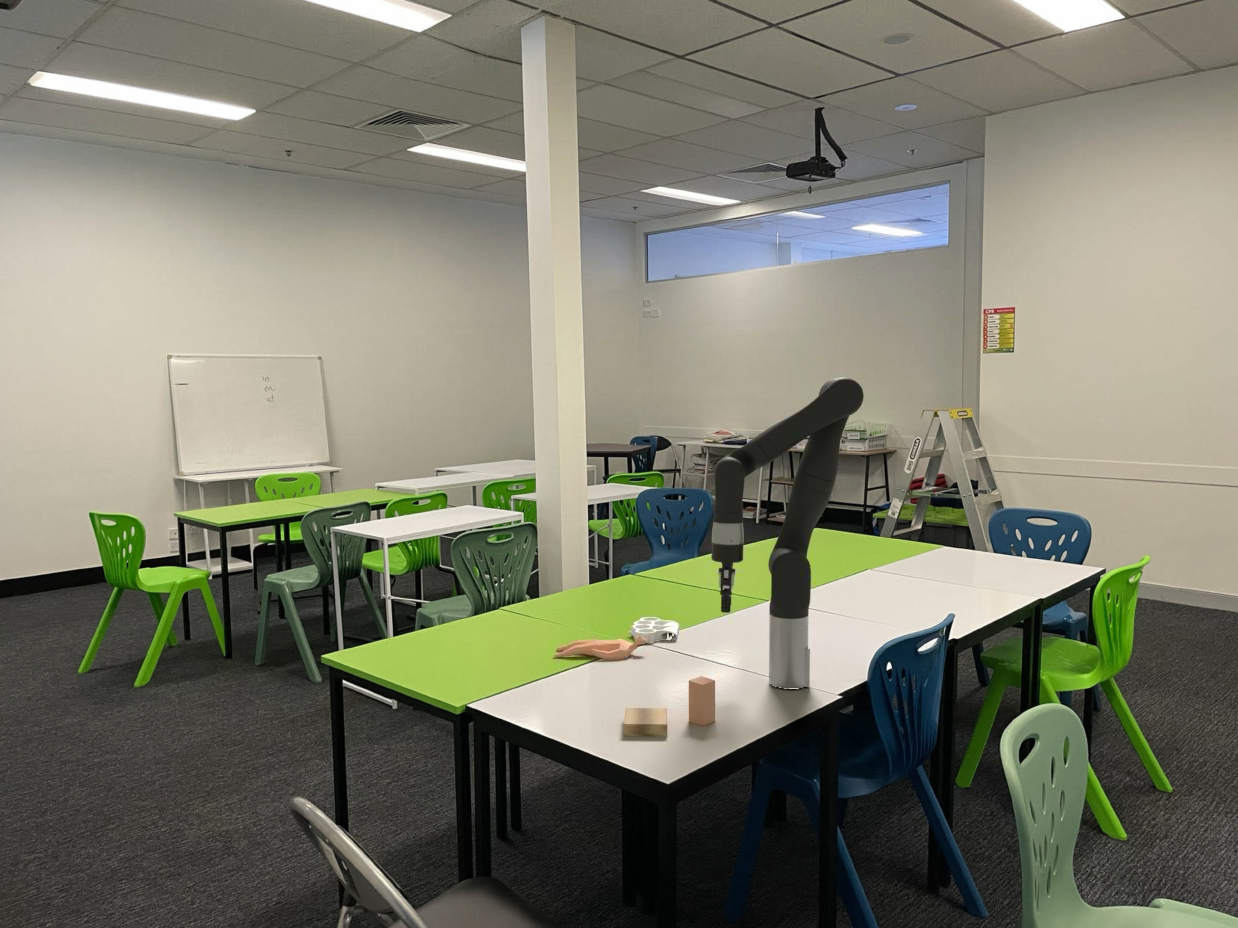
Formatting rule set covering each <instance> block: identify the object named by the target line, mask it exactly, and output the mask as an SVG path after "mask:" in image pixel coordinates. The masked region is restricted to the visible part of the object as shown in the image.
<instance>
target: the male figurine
mask: <svg viewBox="0 0 1238 928" xmlns="http://www.w3.org/2000/svg"><path fill="white" fill-rule="evenodd" d="M645 643H646V638H643V637H640V636H639V638H633V642H629V641H627V640H625V639H623V638H615V639H599V638H588V639H584V640H583V639H577V640H574V641H572V642H570V643H566V644H565V645H562V646H557V647H556V652H557V653H556V652H555V653H554V654H553V655H554V657H555V658H554V659H556V658H558V657H559V658H563V657H570V656H575V655H587V656H590V657H596V658H597V657H598V658H599V659H602V660H605V661H606V660H607V661H619V660H625V659H626V658H628V657H629V656H630V655H632V653H633V652H634V651H635V650H637V649H638V645H646V644H645Z"/></svg>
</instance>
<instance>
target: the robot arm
mask: <svg viewBox="0 0 1238 928" xmlns="http://www.w3.org/2000/svg"><path fill="white" fill-rule="evenodd" d="M863 390H864V389H863V388H862V386H861V385H860V384H859V382H858V381H856V380H854V379H853V378H849V377H844V376H843V377H841V376H840V377H834V378H831V379H829V380H827V381H826V382H824V384H823V385H822V386H821V388H820V390H819V393H818V396H817V397H816V398H815V399H813V401H811V402H809V404H807V405H806V406H804V407H803V408H802V409H799V410H798V411H797V412H795V413H793V414H792V415H790V416H788V417H786V418H784V419H782V420H780V421H778V422H777V423H775V424H773V425H772V426H770V427H768V428H766V429H765V430H763V431H762V432H760V433H759V434H757V435H756V436H755V437H753V438H752V439H750V440H749V441H747V443H745V444H744V445H743V446H740V447H739V448H737V449H736V450H733V451H732V452H731V453H729V454H728V455H726V456H724V457H722V458H721V459H719V460H718V461H717V462H716V464H715V465H714V469H713V476H714V495H715V496H714V497H715V499H714V501H713V513H712V514H713V515H712V516H713V519H712V521H713V522H712V529H711V560H712V561H714V562H716V563H721V567H719V568H718V574H717V575H718V577H719V578H718V587H719V588H720V590H719V595H720V597H721V599H720V600H721V601H720V611H721V613H723V614H724V613H727V614H728V613H730V612H731V610H732V609H731V608H732V607H731V606H732V596H733V592H732V589H734V587H735V586H734V585H735V578H736V568H734V564H737V563H742V561H744V542H745V541H744V540H745V539H744V536H745V534H744V533H745V532H744V531H745V530H744V503H743V502H744V501H743V498H744V488H745V478H747V477H748V476H749V475H751V474H752V473H754V472H755V471H756V470H758V469H760V468H763V467H765V466H767V465H769V464H771V462H774V460H776V459H778V458H779V457H781V456H782V455H784V454H785V453H787V452H788V451H790V450H791V449H793V448H794V447H795V446H797V445H798V444H799V443H801V442H802V441H803V440H805V439H807V438H808V439H807V442H806V445H805V446H804V449H803V452H802V455H801V458H800V460H799V464H798V465H797V466H798V467H797V470H796V473H795V475H794V478H793V483H792V487H791V490H790V493H789V494H790V495H789V499H788V503H787V506H786V509H785V510H786V511H785V514H784V515H785V516H784V520H783V523H782V526H781V528H780V529H781V530H780V532H779V534H778V536H777V539H776V541H775V544H774V546H773V549H772V551H771V552H770V555H769V558H768V570H769V572H770V575H771V587H770V592H771V593H770V601H769V615H768V616H769V621H768V622H769V628H768V630H769V634H768V635H769V636H768V638H769V639H768V641H769V644H768V646H769V648H768V652H769V653H768V683H769V682H770V683H771V684H772V685H774V686H776V687H781V688H802V689H804V688H803V687H810V685H811V684H810V680H811V679H810V677H811V676H810V673H811V671H810V670H811V667H810V666H811V661H810V660H811V649H810V647H809V609H810V603H811V593H812V592H811V590H812V570H811V569H812V568H811V563H810V561H809V559H808V558H807V557H808V556H807V555H808V550H809V547H810V542H811V538H812V534H813V532H814V529H815V527H816V525H817V523H818V522H819V520H820V519H821V517H822V515H823V514H824V511H825V510H826V508H827V505H828V503H829V502H830V498H831V495H832V492H833V489H834V486H835V482H836V479H837V474H838V469H839V460H840V450H841V449H840V448H841V447H840V446H841V440H842V435H843V433H844V430H845V428H846V426H847V422H848V420H849V417H850V416H851V415H854V414H855V413H856V412H858V410H859V409H860V408H861V407H862V404H863V402H864V391H863ZM772 685H771V686H772ZM776 687H775V688H776ZM810 688H811V687H810Z"/></svg>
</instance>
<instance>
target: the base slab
mask: <svg viewBox="0 0 1238 928" xmlns="http://www.w3.org/2000/svg"><path fill="white" fill-rule="evenodd" d="M623 719H624V720H623V737H665V738H667V737H668V708H666V707H665V708H664V707H625V708H624V718H623Z"/></svg>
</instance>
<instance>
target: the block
mask: <svg viewBox="0 0 1238 928" xmlns="http://www.w3.org/2000/svg"><path fill="white" fill-rule="evenodd" d="M713 721H714V722H716V680H714V679H712V678H709V677H706V676H702V675H701V676H697V677H694V678H692V679H689V680H688V722H690V723H693V724H695V723H696V724H695V725H698V724H699V725H698V726H701V725H702V726H701V727H704V726H707V725H709V724H711V723H710V722H712V723H714V722H713ZM708 723H709V724H708ZM706 724H707V725H706ZM703 725H704V726H703Z"/></svg>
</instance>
